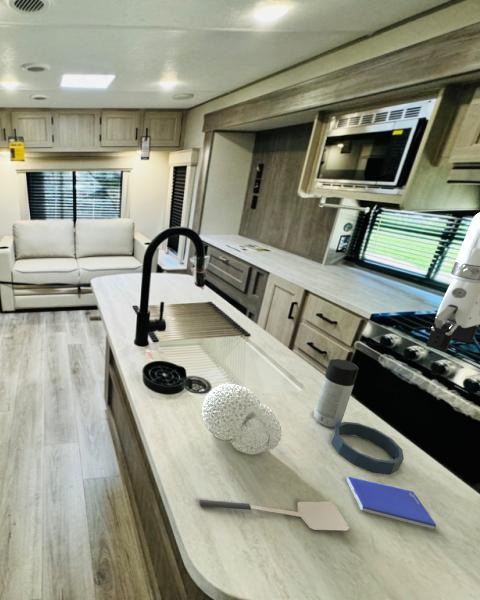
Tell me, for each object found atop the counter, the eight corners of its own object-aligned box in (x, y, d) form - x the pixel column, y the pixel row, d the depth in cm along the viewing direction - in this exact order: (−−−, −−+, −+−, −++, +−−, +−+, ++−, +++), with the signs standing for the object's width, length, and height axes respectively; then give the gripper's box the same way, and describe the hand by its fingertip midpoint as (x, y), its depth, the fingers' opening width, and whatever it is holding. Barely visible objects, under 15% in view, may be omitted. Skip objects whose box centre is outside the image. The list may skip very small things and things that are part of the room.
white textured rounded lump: (188, 419, 85) (228, 374, 82) (192, 407, 101) (226, 369, 98) (254, 480, 77) (301, 432, 75) (248, 457, 93) (286, 417, 90)
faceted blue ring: (351, 427, 92) (355, 416, 91) (410, 464, 80) (415, 452, 79) (319, 440, 88) (323, 429, 86) (376, 481, 76) (382, 469, 74)
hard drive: (413, 490, 72) (348, 475, 76) (436, 525, 65) (363, 506, 69) (410, 495, 72) (346, 480, 76) (434, 530, 65) (361, 511, 69)
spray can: (345, 429, 91) (365, 371, 84) (319, 427, 92) (337, 369, 85) (332, 413, 97) (350, 358, 90) (308, 411, 99) (324, 357, 91)
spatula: (348, 534, 65) (350, 530, 64) (202, 516, 69) (202, 512, 68) (331, 506, 71) (332, 501, 70) (196, 491, 75) (197, 486, 74)
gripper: (483, 282, 59) (449, 360, 65) (529, 271, 64) (493, 344, 70) (430, 273, 66) (404, 344, 72) (475, 263, 71) (447, 330, 77)
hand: (448, 344), depth 71 cm, fingers open, 9 cm apart
